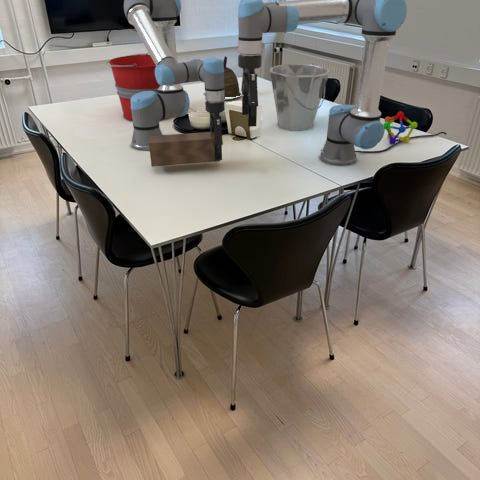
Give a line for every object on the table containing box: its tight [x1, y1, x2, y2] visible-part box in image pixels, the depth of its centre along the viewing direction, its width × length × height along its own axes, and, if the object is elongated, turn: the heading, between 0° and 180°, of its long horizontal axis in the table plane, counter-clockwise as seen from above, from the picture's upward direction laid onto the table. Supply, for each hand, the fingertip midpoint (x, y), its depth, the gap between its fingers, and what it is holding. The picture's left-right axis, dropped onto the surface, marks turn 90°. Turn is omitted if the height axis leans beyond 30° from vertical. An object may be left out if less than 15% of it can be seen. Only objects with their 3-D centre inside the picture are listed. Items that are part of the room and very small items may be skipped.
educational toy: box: [382, 110, 418, 145], centre depth 207 cm, size 16×13×15 cm
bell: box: [223, 56, 242, 97], centre depth 278 cm, size 19×26×20 cm
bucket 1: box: [105, 51, 160, 122], centre depth 239 cm, size 35×35×30 cm
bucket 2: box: [269, 63, 330, 131], centre depth 226 cm, size 30×30×28 cm
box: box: [148, 131, 221, 168], centre depth 180 cm, size 28×9×10 cm, turn 102°
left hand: (216, 155), depth 184 cm, fingers closed on box, 9 cm apart
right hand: (248, 120), depth 152 cm, fingers open, 13 cm apart
